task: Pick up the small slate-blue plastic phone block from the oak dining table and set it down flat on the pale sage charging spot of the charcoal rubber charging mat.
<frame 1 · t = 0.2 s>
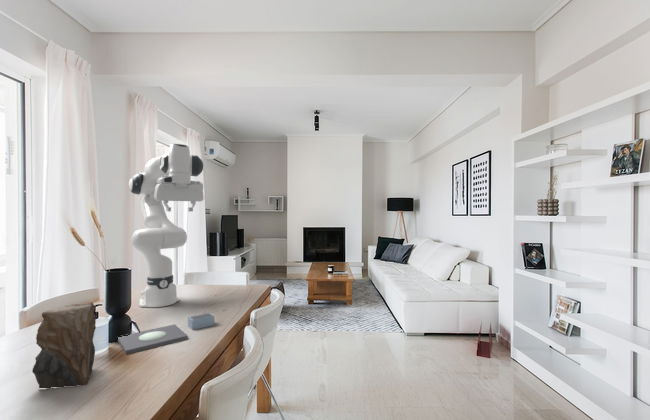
hand: (179, 211, 145), 47 cm above the table, tool pointing down, fingers open, 8 cm apart
brown rock: (70, 380, 92), on the table
charging mat: (152, 339, 121), on the table
phone: (201, 326, 136), on the table
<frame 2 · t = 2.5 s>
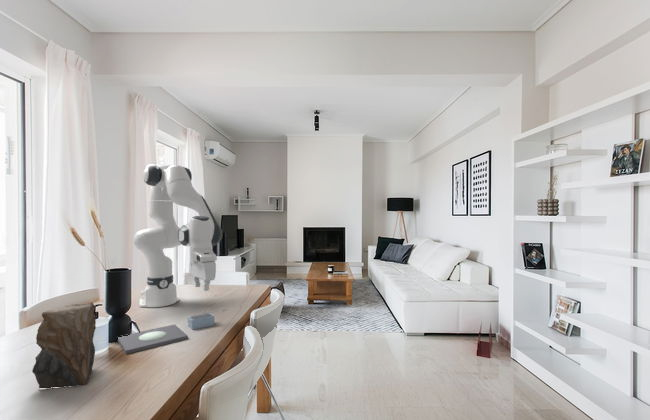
hand: (201, 288, 136), 15 cm above the table, tool pointing down, fingers open, 8 cm apart
nothing on the table moved.
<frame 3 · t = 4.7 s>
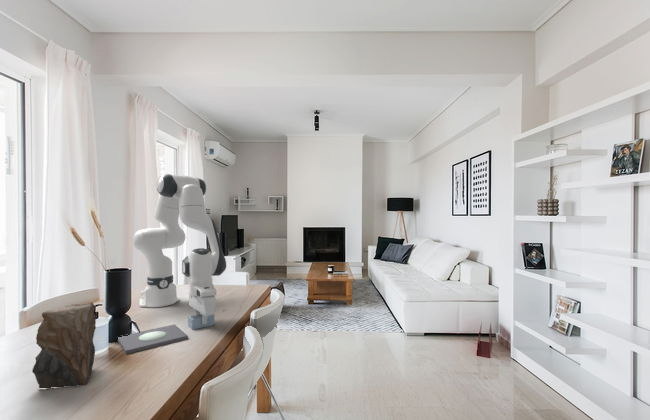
hand: (201, 321, 136), 2 cm above the table, tool pointing down, fingers closed on phone, 5 cm apart
phone: (201, 325, 136), on the table, touching gripper
everything else where it was.
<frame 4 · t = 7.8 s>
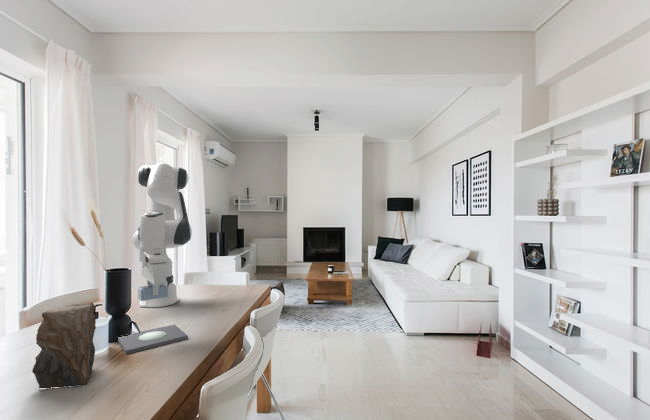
hand: (152, 293, 121), 17 cm above the table, tool pointing down, fingers closed on phone, 5 cm apart
phone: (153, 297, 121), point 15 cm above the table, touching gripper
everything else where it was.
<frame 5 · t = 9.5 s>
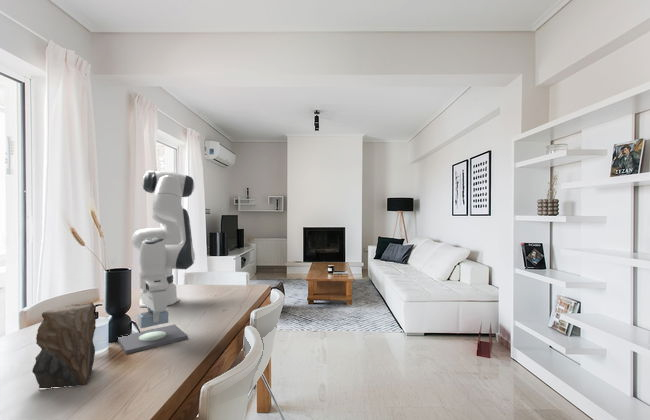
hand: (153, 319, 121), 7 cm above the table, tool pointing down, fingers closed on phone, 5 cm apart
phone: (153, 323, 121), point 6 cm above the table, touching gripper
everything else where it was.
when the fingers open (5 cm above the table, at t = 10.9 s): phone drops 2 cm, resting on charging mat.
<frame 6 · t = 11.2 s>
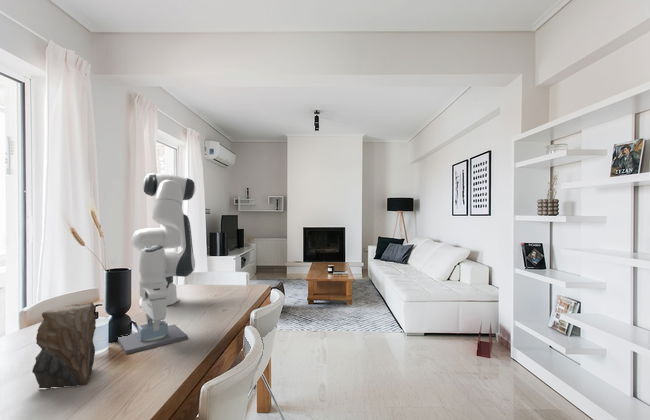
hand: (152, 326, 121), 5 cm above the table, tool pointing down, fingers open, 7 cm apart
phone: (152, 335, 121), point 1 cm above the table, touching charging mat
everything else where it was.
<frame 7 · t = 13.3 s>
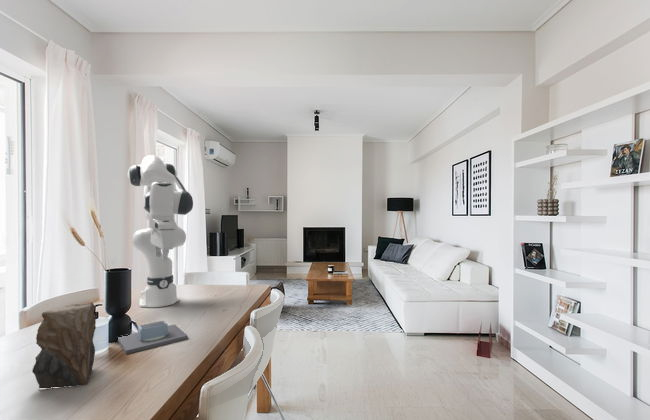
hand: (161, 258, 129), 29 cm above the table, tool pointing down, fingers open, 8 cm apart
nothing on the table moved.
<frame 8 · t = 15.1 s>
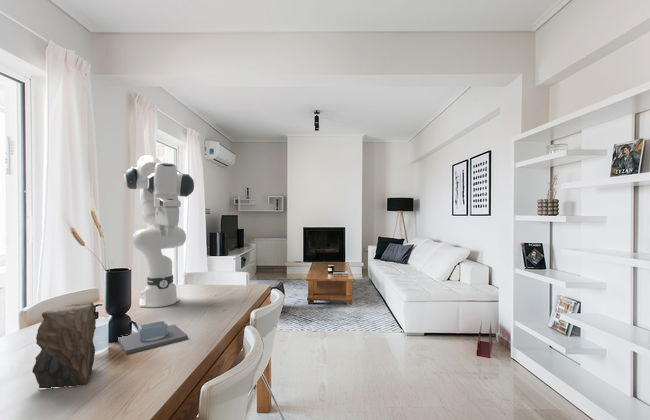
hand: (166, 236, 133), 37 cm above the table, tool pointing down, fingers open, 8 cm apart
nothing on the table moved.
at the end: phone inside the target area on the charging mat (0.0 cm from its centre), point 1.3 cm above the charging mat's base; phone tilted 0°; the gripper is holding nothing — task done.
